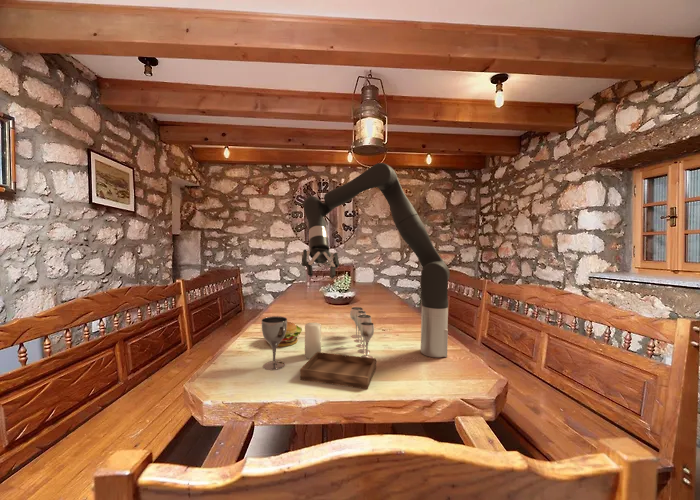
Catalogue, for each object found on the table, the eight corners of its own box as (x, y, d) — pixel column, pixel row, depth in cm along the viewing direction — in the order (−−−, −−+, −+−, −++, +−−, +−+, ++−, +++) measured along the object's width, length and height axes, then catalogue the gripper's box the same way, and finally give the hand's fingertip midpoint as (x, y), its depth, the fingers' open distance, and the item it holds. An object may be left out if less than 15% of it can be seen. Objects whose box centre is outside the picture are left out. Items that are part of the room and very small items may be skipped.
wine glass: (291, 362, 102) (291, 317, 101) (278, 372, 94) (278, 323, 94) (270, 359, 104) (270, 315, 104) (256, 368, 97) (256, 321, 96)
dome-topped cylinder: (323, 353, 110) (323, 323, 109) (317, 359, 104) (317, 327, 104) (308, 352, 111) (308, 322, 111) (302, 358, 106) (302, 326, 105)
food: (284, 351, 112) (284, 329, 112) (257, 344, 119) (257, 323, 119) (308, 341, 124) (309, 321, 123) (283, 334, 131) (283, 316, 131)
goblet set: (376, 360, 105) (377, 321, 105) (359, 360, 105) (360, 321, 104) (362, 334, 133) (362, 303, 133) (348, 334, 132) (349, 304, 132)
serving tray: (376, 368, 98) (376, 358, 98) (367, 389, 85) (367, 377, 85) (316, 361, 103) (316, 351, 103) (300, 379, 90) (300, 369, 90)
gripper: (304, 232, 117) (306, 270, 109) (338, 237, 123) (343, 273, 115) (298, 242, 123) (300, 279, 115) (331, 246, 128) (336, 282, 120)
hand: (322, 276), depth 115 cm, fingers open, 8 cm apart
